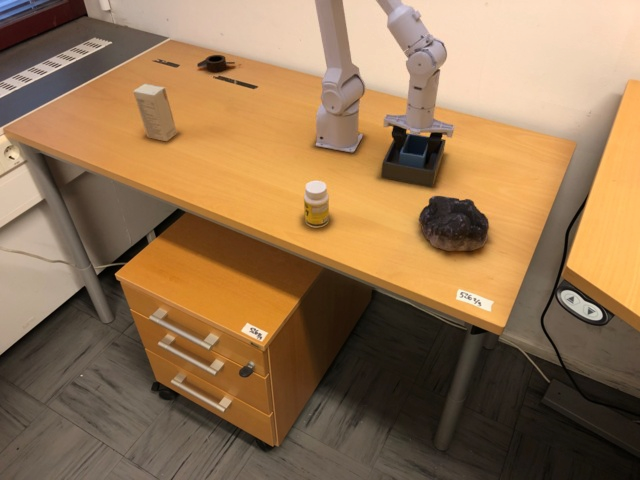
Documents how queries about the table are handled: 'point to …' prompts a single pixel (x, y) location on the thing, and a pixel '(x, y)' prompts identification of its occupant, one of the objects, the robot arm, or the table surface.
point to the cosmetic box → (155, 112)
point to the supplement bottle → (316, 204)
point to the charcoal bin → (410, 173)
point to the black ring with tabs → (215, 63)
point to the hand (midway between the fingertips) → (414, 158)
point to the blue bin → (414, 151)
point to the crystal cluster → (454, 224)
